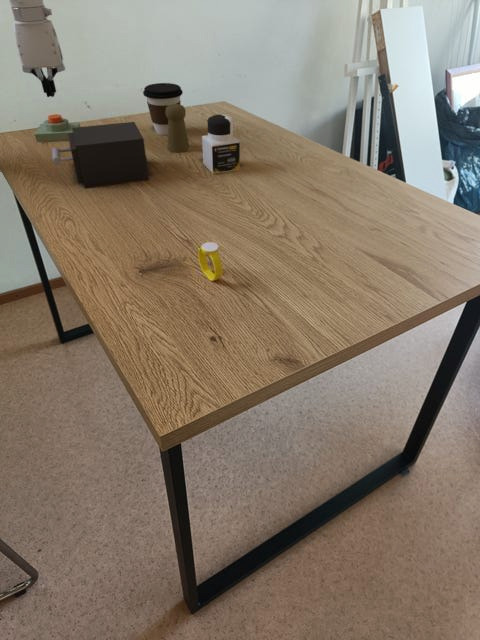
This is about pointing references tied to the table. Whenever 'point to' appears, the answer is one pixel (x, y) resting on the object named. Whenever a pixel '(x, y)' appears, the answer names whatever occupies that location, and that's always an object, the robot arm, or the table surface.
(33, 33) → the robot arm
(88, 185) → the black drawer box
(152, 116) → the coffee cup
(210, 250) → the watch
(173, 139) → the olive brown pawn
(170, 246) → the table surface
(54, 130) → the control block
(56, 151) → the drawer
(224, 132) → the medicine bottle
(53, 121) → the button
